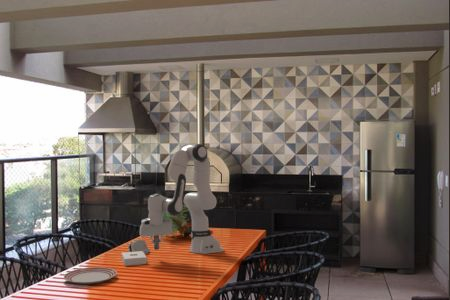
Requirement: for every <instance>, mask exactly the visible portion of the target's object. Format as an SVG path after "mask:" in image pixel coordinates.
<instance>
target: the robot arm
mask: <svg viewBox="0 0 450 300" xmlns="http://www.w3.org/2000/svg"><path fill="white" fill-rule="evenodd" d="M189 162H192V163H193V171H192V173H193V174H192V175H193V177H192V184H193V185H194V186H195V187H196V191H197V192H195V191H193V192H188V193H186V194H185V191H186V185H187V177H186V172H187V171H186V170H187V168H188V163H189ZM210 172H211V163H210V158H209V157H208V150H207V147H206V146H205V145H204V144H200V143H191V144H185V145H182V146H181V147H180V149H177V150H175V151H174V153H173V155H172V157H171V160H170V163H169V166H168V171H167V173H168V176H169V178H170V179H171V180H173V181H174V184H175V188H174V189H175V190H174V193H173V198H170V197H165V196H164V195H162V194H161V193H153V194H151V195H149V197H148V199H147V200H148V201H147V210H148V217H147V218H144V219H141V222H140V223H141V224H140V226H139V236H140V237H141V238H142V237H143V238H144V237H149V239H150V240H151V244H154V238H153V237H154V236H156V235H159V236H160V237H159V243H162V239H163V237H164V236H166V235H167V234H168V235H171V234H172V233H173V230H172V224H173V223H172V220H170V219H168V220H163V213H167V214H171V215H174V216H177V215H180V213H182V211H183V210H184V209H183V208H184V206H183V205H186V206H187V208H186V209H188V210H189V211H188V212H189V215H190V219H191V225H192V230H191V235H190V238H191V243H190V248H189V252H190V253H192V254H193V253H194V254H201V255H207V254H214V253H221V252H225V250H224V248H223V247H221V244H220V241H219V240H218V239H217V238H216V237H214V236H213V234H214V231H213V230H210V229H209V217H208V216H207V214H205V211H208V210H213V209H214V208H216V206H217V203H218V201H217V197H216V196H215V194H213V191H212V188H211V184H210V182H211V181H210V180H211V179H210V178H211V173H210ZM183 201H184V202H183ZM173 234H174V233H173ZM173 234H172V235H173ZM168 235H167V236H168Z"/></svg>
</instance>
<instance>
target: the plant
mask: <svg viewBox="0 0 450 300" xmlns="http://www.w3.org/2000/svg"><path fill="white" fill-rule="evenodd" d="M183 203H184V200H183ZM185 212H189V209H188V208H187V206H186V205H185V204H183V210H182V212H181V213H180V214H179V215H177V216H174V215H171V214H167V213H163V220H168V219H170V220H172V231H173V233H172V234H170V235H173V237H176V235H177V234H179V235H180V236H182V237H183V238H185V239H186V238H188V237H190V236H191V230H192V221H190V218H188V219H187V216H188V214H184V213H185ZM185 218H186V219H185ZM187 221H188V222H187ZM168 236H169V234H167V235H165V238H167V237H168Z"/></svg>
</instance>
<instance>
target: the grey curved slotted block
mask: <svg viewBox="0 0 450 300" xmlns="http://www.w3.org/2000/svg"><path fill="white" fill-rule="evenodd" d="M127 250H128V252H137V251H143V253H144V254H145V255H146V254H149V253H151V249H150V248H149V247H148V245H147V242H146V240H144V239H138V240H135V241H132V242H131V243H130V244H128V246H127ZM148 252H149V253H148Z"/></svg>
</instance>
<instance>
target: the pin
mask: <svg viewBox="0 0 450 300" xmlns="http://www.w3.org/2000/svg"><path fill="white" fill-rule="evenodd" d="M159 236H160V235H156V236H153V240H154V243H153V244H154V245H153V247H154V249H153V250H156V251H158V250H160V242H159V239H160V237H159Z"/></svg>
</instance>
